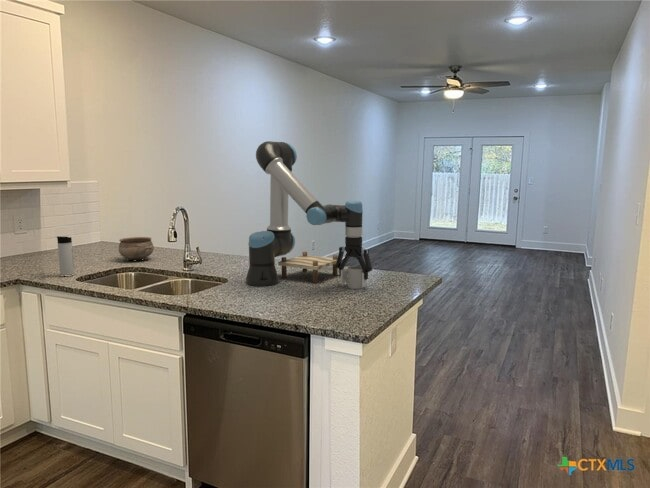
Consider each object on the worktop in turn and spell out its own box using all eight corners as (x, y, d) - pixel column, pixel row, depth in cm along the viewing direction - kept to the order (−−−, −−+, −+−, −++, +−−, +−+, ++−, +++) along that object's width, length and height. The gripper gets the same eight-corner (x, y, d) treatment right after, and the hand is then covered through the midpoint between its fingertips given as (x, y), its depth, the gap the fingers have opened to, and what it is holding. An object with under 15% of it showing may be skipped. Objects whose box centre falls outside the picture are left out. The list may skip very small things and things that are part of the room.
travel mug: (57, 276, 246) (53, 236, 243) (69, 273, 252) (65, 234, 249) (65, 277, 243) (61, 237, 240) (77, 275, 249) (74, 235, 246)
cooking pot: (108, 260, 286) (107, 239, 284) (136, 255, 302) (134, 235, 300) (138, 265, 274) (136, 243, 272) (164, 259, 290) (163, 238, 288)
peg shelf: (316, 283, 230) (316, 262, 228) (278, 278, 241) (278, 257, 240) (340, 274, 248) (340, 255, 247) (303, 270, 260) (303, 251, 258)
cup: (358, 290, 219) (358, 270, 217) (339, 286, 225) (339, 267, 223) (367, 286, 224) (367, 267, 223) (348, 283, 230) (348, 264, 229)
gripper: (380, 236, 218) (379, 286, 222) (335, 233, 230) (335, 280, 233) (373, 239, 212) (372, 290, 215) (327, 235, 224) (327, 283, 227)
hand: (353, 285), depth 224 cm, fingers open, 10 cm apart
